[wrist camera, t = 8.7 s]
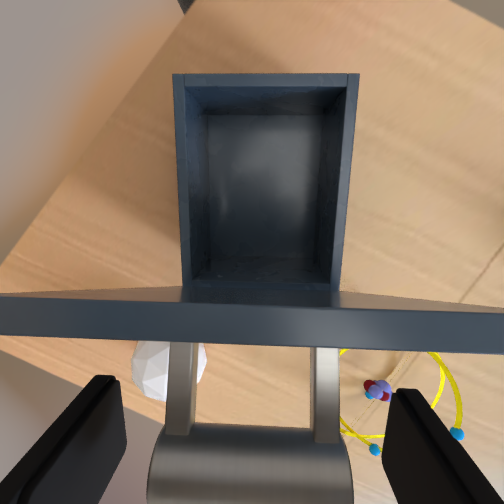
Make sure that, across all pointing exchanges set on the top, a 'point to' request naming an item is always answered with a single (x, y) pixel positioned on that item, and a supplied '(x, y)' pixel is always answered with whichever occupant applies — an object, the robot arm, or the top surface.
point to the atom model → (384, 393)
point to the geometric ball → (157, 367)
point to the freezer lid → (253, 333)
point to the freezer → (264, 177)
